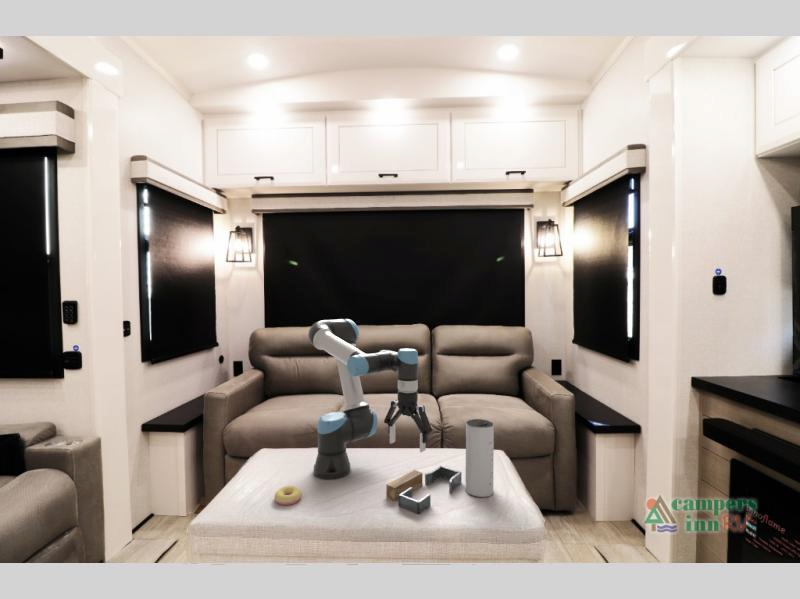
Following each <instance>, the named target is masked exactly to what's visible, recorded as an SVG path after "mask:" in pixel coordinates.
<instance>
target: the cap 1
mask: <svg viewBox="0 0 800 599" xmlns="http://www.w3.org/2000/svg"><path fill="white" fill-rule="evenodd" d="M398 507H399V508H403V509H405V510H408V511H410V512H411V513H415V514H417V515H421V514H422V513H423V512H424V511H426V510H427V509H428V508H429V507H431V493H427V494H426V495H425V496H423V497H422V498H420V499H419V500H416V499H415V498H413V491H412V487H410V488H408V489H407V490H405V491H404V492H402V493H401V494H399V499H398Z"/></svg>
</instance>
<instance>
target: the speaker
mask: <svg viewBox="0 0 800 599" xmlns="http://www.w3.org/2000/svg"><path fill="white" fill-rule="evenodd" d="M494 428H495V424H494V423H493V421H490V420H487V419H481V418H474V419H469V420H467V421H466V422H465V491H466V493H467V494H468V495H470V496H473V497H477V498H487V497H490V496H492V495H493V493H494V454H495V452H494V448H495V447H494V445H495V444H494V441H495V440H494V439H495V438H494V435H495V434H494V433H495V430H494Z"/></svg>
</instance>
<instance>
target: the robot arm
mask: <svg viewBox="0 0 800 599" xmlns="http://www.w3.org/2000/svg"><path fill="white" fill-rule="evenodd" d="M307 335H308V342H310V344H311V345H312V346H313V347H314V348H316V349H317V350H320V351H322V350H323V351H324V352H326V353H328V354H329V355H331V356H332V357H334V358H335V359H336V364H337V368H338V376H339V380H340V384H341V390H342V395H343V400H344V404H345V406H344V408H343V410H342V411H331V412H327V413H325V414H323V415H321V417H320V418H319V419H318V421H317V429H316V430H317V456H316V459H315V463H314V464H313V474H314V476H315V477H317V478H318V479H319V478H320V479H323V480H335V479H336V480H337V479H340V478H344V477H345V476H347V475H348V474H349V473H351V462H350V459H349V456H348V453H347V444H349V443H352V442H356V441H359V440H362V439H367V438H369V437H372V436H373V435H374V434H376V432H377V429H378V424H379V417H378V415H377V412H376V411H375V409H373V408H371V407H370V405H369V403H368V402H366V401H365V397H364V391H363V387H362V383H361V378H360V377H363V376H367V375H372V374H378V373H384V372H385V373H386V372H395V373H397V390H398V391H397V399H394V400H392V401H391V402H390V407H389V409H388V411H387V413H386V416H385V417H384V420H383V423H384V424H386V425H387V426H388V427H387V428H388V429H387V430H388V434H389V444H391V445H392V444H394V443H395V442H396V424H395V423H396V421H398V420H399V418H400V417H401V416H407V417H409V418H411V419H412V420H413V421H414V423H415V425H416V426H417V428H418V430H419V431H420V434H419V453H423V452H424V451H426V443H427V442H428V434H431V433H433V428H432V426H431V423H430V421H429V418H428V415H427V413H426V406H425V405H424V404H423V405H418V396H419V393H418V388H419V385H418V384H419V383H418V382H419V378H418V377H419V376H418V375H419V356H418V354H419V352H418V350H417V349H415V348H407V347H406V348H399V349H398V351H394V350H390V349H382V350H379V352H373V353H365V352H363V351H362V350H360V349H359V348H357V342H358V340H359V335H360V330H359V328H358V325H357V324H356V323H355V322H354V321H353V319H349V318H339V319H338V318H337V319H323V320H319V321H316V322H314V323H313V324H312V325H311V327H310V328H309V330H308V334H307ZM397 408H398V410H397V411H396V409H397ZM395 411H396V412H395ZM394 413H395V414H394ZM393 415H394V416H393Z"/></svg>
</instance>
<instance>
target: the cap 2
mask: <svg viewBox="0 0 800 599" xmlns="http://www.w3.org/2000/svg"><path fill="white" fill-rule="evenodd" d="M440 478H444V479H447V480H448V482H449V483H448V486H449V487H448V488H449V490H448V491H449V493H451V494H452V492H453V490H454V489H455V488H456V487H457V486H459V485H460V484H461V483H462V471H460V470H457V469H453V468H450V467H447V466H443V465H439V466H438V467H437V468H435V469H433V470H431V471H429V472H426V473H425V474H424V484H425V486H426V485H429V484H433V483H434V482H436V481H437V480H439V479H440Z"/></svg>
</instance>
